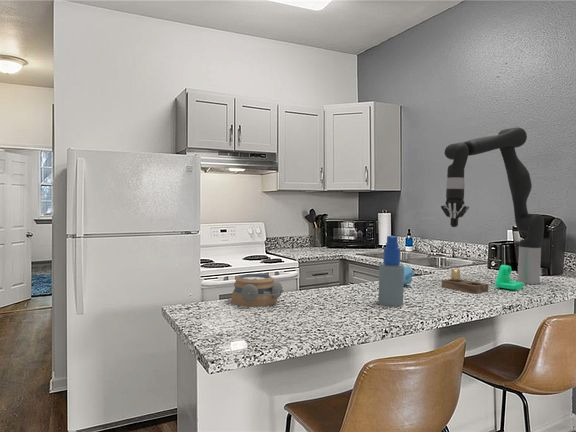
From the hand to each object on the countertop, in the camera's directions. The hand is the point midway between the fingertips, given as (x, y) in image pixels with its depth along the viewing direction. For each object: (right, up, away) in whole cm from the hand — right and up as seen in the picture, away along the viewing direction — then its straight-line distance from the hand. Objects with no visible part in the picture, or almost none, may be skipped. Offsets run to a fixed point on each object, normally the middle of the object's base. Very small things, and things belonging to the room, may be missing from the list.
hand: (454, 226), depth 188 cm
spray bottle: (-36, -28, -33) cm, 56 cm away
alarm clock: (-85, -27, -35) cm, 96 cm away
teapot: (-25, -27, +3) cm, 37 cm away
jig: (+3, -27, -4) cm, 28 cm away
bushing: (0, -27, 0) cm, 27 cm away
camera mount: (+25, -28, 0) cm, 37 cm away
